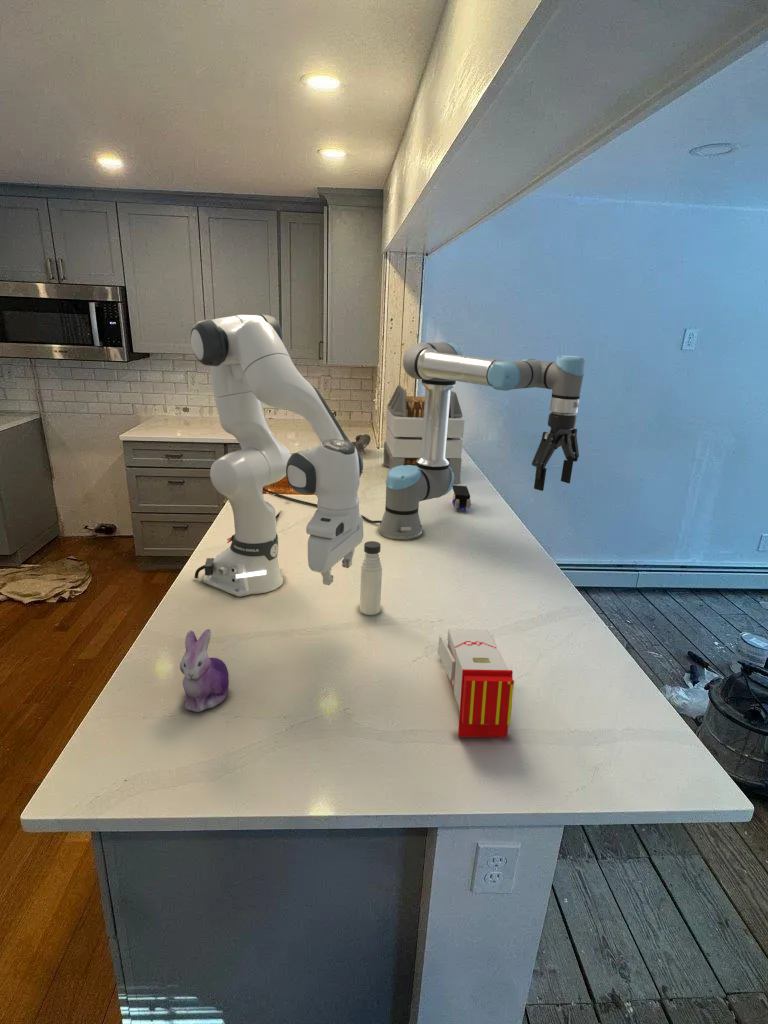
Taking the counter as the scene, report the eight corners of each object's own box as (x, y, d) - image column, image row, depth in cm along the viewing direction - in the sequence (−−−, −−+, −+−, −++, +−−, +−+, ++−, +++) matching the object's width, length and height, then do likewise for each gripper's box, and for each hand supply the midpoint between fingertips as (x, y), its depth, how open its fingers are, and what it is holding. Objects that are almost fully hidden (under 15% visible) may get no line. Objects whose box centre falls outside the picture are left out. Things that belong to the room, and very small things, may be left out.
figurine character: (470, 516, 223) (465, 500, 237) (473, 499, 220) (467, 484, 233) (453, 516, 223) (449, 500, 236) (455, 498, 220) (451, 483, 233)
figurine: (186, 720, 107) (180, 652, 102) (178, 689, 115) (171, 624, 110) (237, 706, 111) (233, 640, 106) (225, 677, 119) (221, 615, 114)
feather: (288, 505, 226) (290, 501, 226) (271, 529, 199) (273, 524, 199) (284, 503, 226) (287, 499, 225) (266, 526, 199) (269, 522, 199)
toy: (488, 613, 130) (523, 677, 101) (484, 667, 133) (517, 744, 104) (435, 612, 130) (455, 676, 101) (432, 666, 133) (451, 743, 103)
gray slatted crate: (382, 463, 289) (386, 382, 275) (445, 464, 293) (451, 384, 279) (390, 482, 257) (394, 392, 243) (460, 483, 261) (468, 394, 247)
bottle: (356, 606, 150) (358, 543, 144) (375, 603, 152) (378, 540, 146) (364, 616, 146) (366, 551, 139) (383, 612, 148) (386, 548, 142)
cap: (361, 548, 144) (362, 542, 144) (376, 546, 146) (376, 540, 145) (367, 555, 141) (367, 548, 140) (382, 552, 142) (383, 546, 142)
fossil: (346, 440, 316) (367, 425, 311) (357, 453, 319) (378, 438, 314) (340, 453, 296) (362, 438, 291) (351, 468, 299) (374, 452, 294)
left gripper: (345, 500, 132) (345, 555, 136) (301, 529, 114) (302, 590, 118) (370, 504, 129) (369, 559, 134) (329, 534, 111) (329, 597, 116)
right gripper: (548, 419, 148) (537, 496, 155) (598, 411, 163) (586, 482, 171) (525, 414, 153) (515, 489, 160) (575, 407, 169) (564, 476, 176)
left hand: (337, 574), depth 126 cm, fingers open, 8 cm apart
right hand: (552, 485), depth 166 cm, fingers open, 13 cm apart
